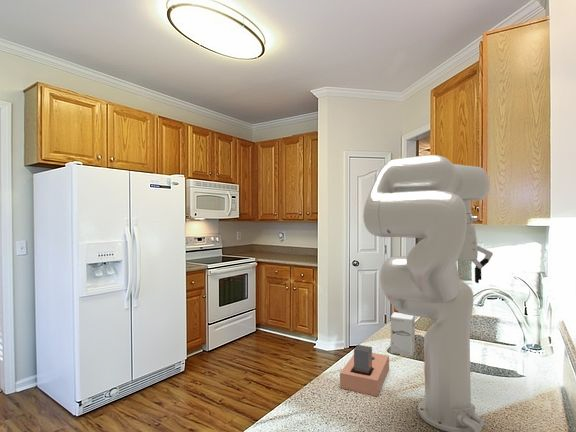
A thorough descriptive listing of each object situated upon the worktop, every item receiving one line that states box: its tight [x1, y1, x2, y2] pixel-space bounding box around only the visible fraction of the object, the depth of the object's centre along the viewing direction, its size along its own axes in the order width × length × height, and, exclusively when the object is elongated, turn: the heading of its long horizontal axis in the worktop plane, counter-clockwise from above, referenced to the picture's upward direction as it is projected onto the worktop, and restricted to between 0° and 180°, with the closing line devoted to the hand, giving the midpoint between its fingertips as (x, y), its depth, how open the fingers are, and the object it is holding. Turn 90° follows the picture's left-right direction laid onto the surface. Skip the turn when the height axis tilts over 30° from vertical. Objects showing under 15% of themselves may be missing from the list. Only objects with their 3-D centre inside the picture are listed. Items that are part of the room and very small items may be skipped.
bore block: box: [339, 352, 390, 397], centre depth 95 cm, size 18×10×4 cm, turn 154°
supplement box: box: [390, 311, 416, 358], centre depth 114 cm, size 7×7×13 cm
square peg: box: [353, 344, 373, 376], centre depth 90 cm, size 4×4×10 cm
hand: (457, 281), depth 92 cm, fingers open, 9 cm apart
